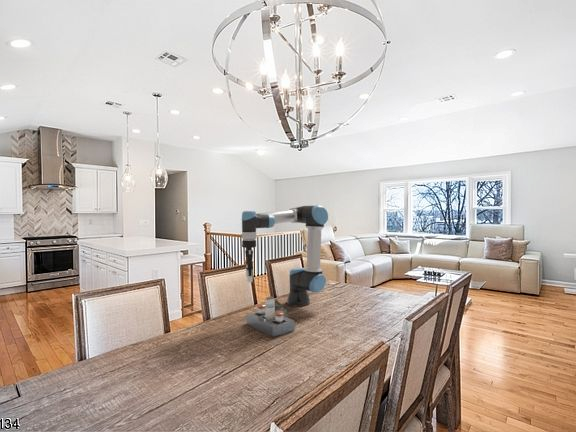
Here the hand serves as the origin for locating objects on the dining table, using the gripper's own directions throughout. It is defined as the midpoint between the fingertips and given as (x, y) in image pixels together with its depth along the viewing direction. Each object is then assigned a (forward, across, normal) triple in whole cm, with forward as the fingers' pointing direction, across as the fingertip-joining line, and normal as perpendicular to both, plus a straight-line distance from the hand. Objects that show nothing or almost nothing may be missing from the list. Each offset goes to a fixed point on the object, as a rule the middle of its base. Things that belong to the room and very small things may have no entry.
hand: (249, 279), depth 172 cm
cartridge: (+25, +5, +11) cm, 27 cm away
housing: (+25, +5, +11) cm, 27 cm away
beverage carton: (+25, -14, +16) cm, 33 cm away
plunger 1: (+22, -2, +7) cm, 23 cm away
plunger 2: (+22, +12, +14) cm, 29 cm away
